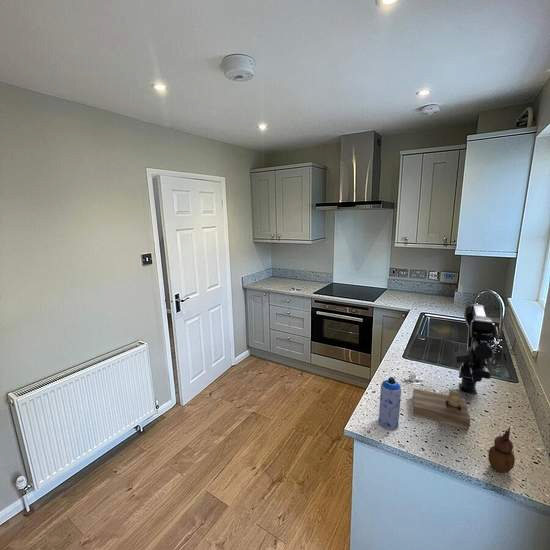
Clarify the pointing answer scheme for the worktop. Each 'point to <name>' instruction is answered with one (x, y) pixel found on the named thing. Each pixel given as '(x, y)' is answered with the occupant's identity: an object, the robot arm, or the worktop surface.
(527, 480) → the worktop surface
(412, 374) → the teacup and saucer
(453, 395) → the oak peg
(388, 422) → the aerosol can
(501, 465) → the brown bottle gourd
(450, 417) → the walnut socket block
